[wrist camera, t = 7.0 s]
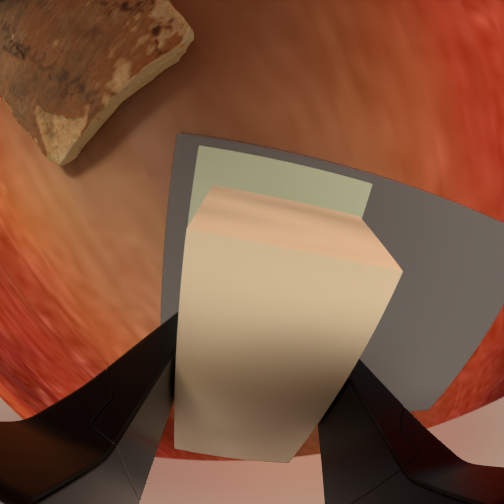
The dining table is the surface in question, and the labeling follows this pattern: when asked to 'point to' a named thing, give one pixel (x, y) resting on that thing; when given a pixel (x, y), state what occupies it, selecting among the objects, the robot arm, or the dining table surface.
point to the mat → (389, 234)
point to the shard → (81, 63)
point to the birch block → (271, 321)
